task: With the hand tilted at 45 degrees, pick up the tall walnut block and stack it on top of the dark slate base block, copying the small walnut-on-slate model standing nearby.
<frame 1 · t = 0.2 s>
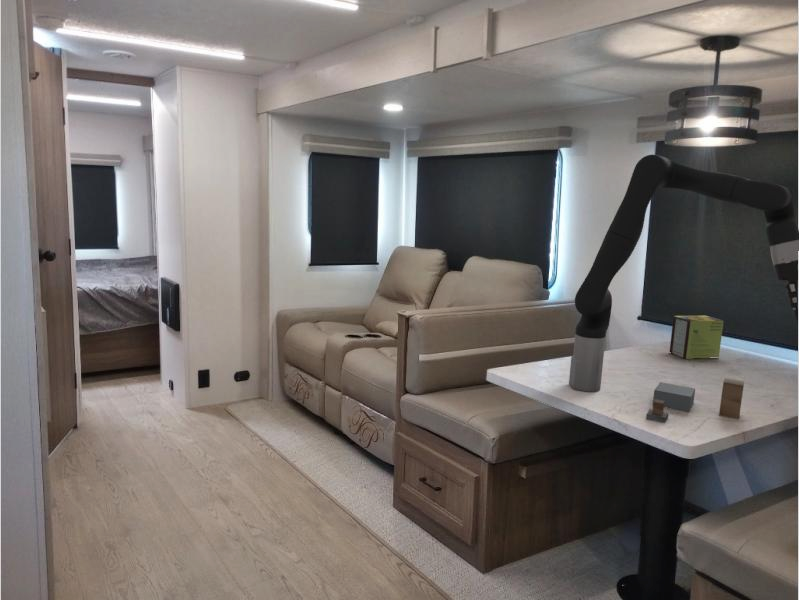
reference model: (657, 418, 173), on the table
slate base block: (673, 405, 186), on the table
walnut block: (729, 415, 178), on the table
protein box: (693, 356, 248), on the table
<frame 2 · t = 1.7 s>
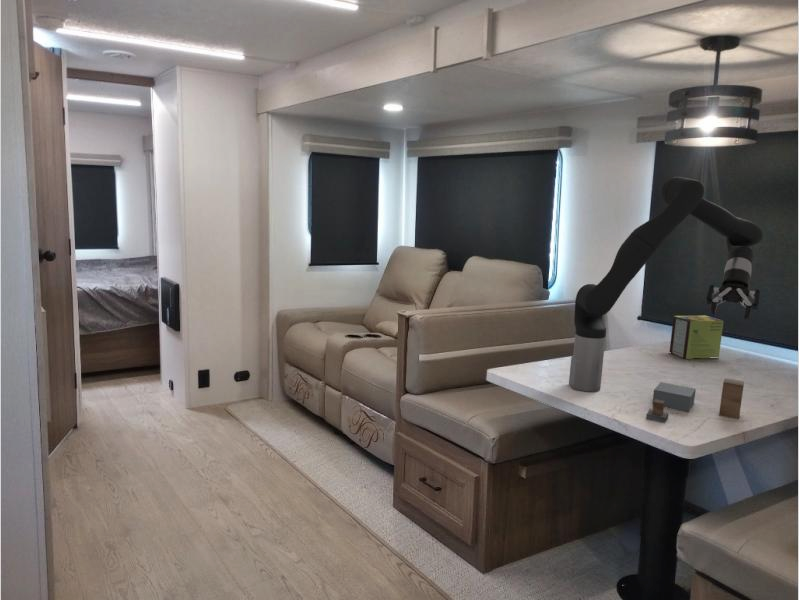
hand: (729, 316, 187), 27 cm above the table, tool tilted 45°, fingers open, 8 cm apart
nothing on the table moved.
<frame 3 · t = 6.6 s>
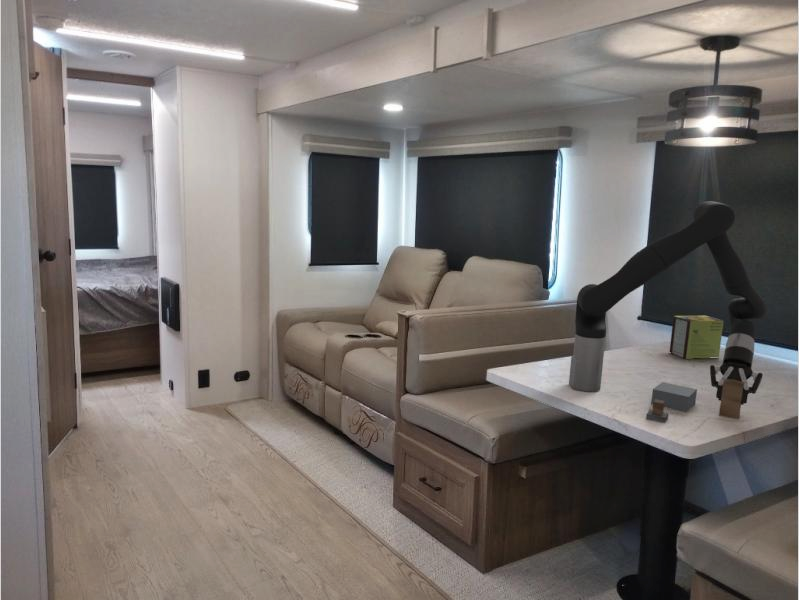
hand: (731, 401, 176), 5 cm above the table, tool tilted 45°, fingers closed on walnut block, 5 cm apart
walnut block: (729, 415, 178), on the table, touching gripper
everything else where it was.
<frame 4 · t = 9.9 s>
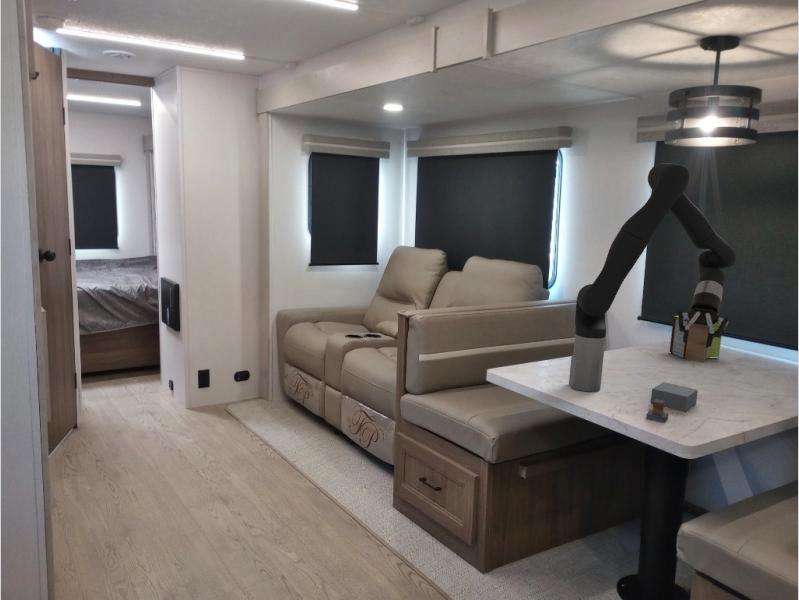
hand: (696, 344, 178), 20 cm above the table, tool tilted 45°, fingers closed on walnut block, 5 cm apart
walnut block: (695, 358, 181), point 15 cm above the table, touching gripper
everything else where it was.
when the fingers open (11 cm above the table, at t = 12.8 s): walnut block drops 2 cm, point 5 cm above the table.
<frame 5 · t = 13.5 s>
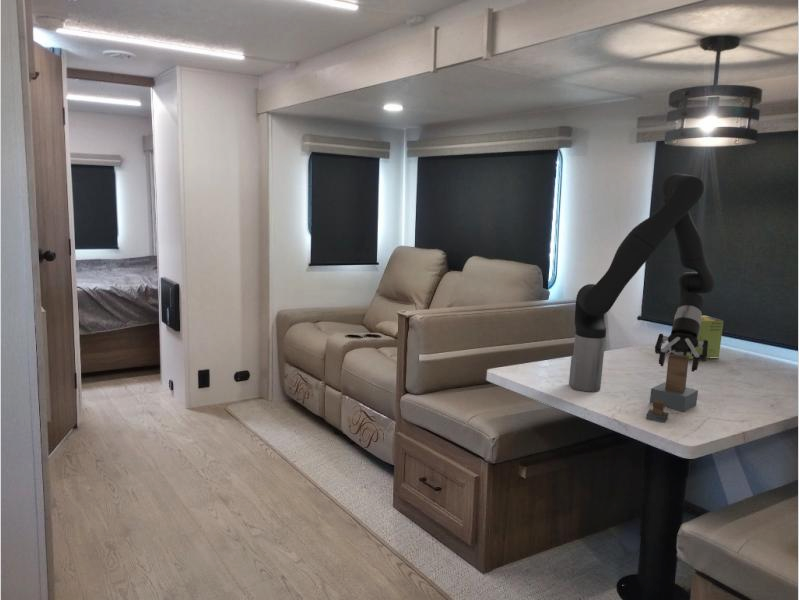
hand: (677, 367, 183), 12 cm above the table, tool tilted 45°, fingers open, 8 cm apart
walnut block: (675, 389, 185), point 5 cm above the table
everything else where it was.
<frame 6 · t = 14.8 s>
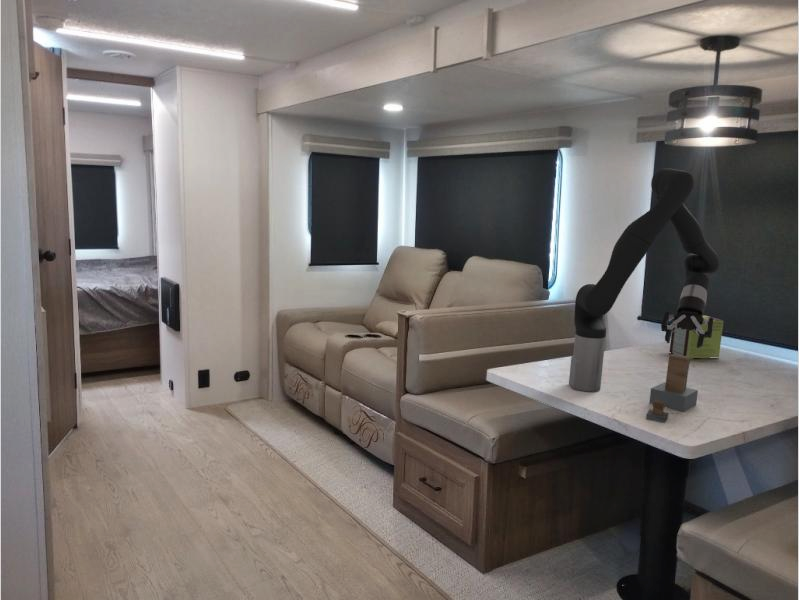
hand: (682, 344, 187), 18 cm above the table, tool tilted 45°, fingers open, 8 cm apart
nothing on the table moved.
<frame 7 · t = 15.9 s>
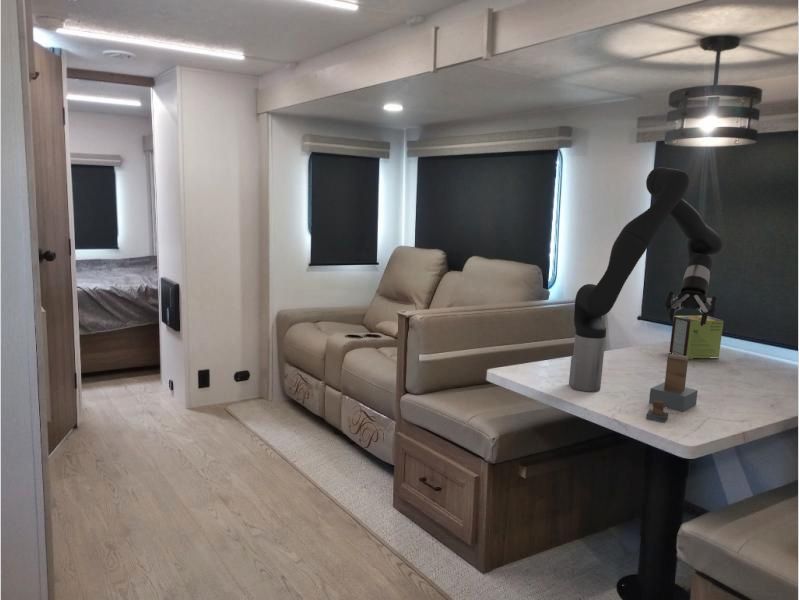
hand: (686, 322, 192), 23 cm above the table, tool tilted 45°, fingers open, 8 cm apart
slate base block: (672, 405, 186), on the table, touching walnut block
walnut block: (674, 388, 185), point 5 cm above the table, touching slate base block
everything else where it was.
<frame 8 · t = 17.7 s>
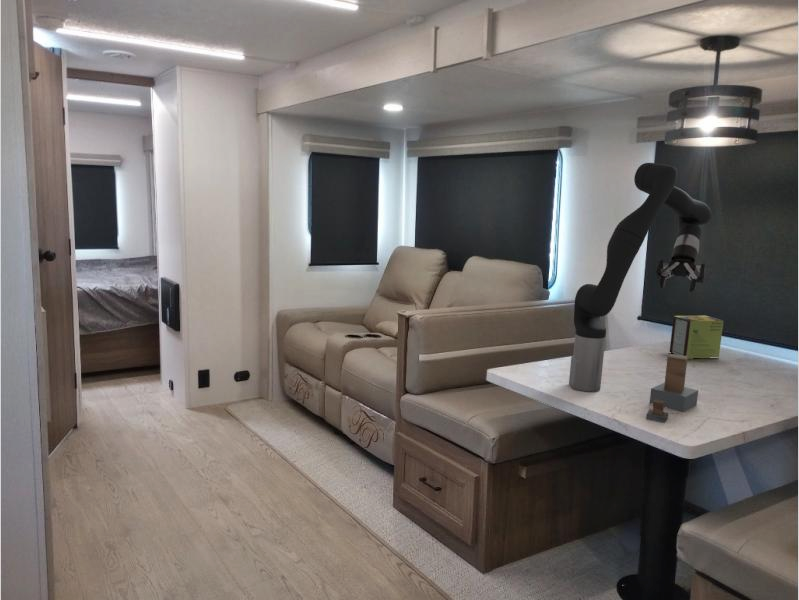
hand: (676, 288, 197), 33 cm above the table, tool tilted 45°, fingers open, 8 cm apart
nothing on the table moved.
at the end: walnut block 0.2 cm off-centre on the slate base block, point 5.0 cm above the slate base block's base; walnut block tilted 1°; the gripper is holding nothing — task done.
